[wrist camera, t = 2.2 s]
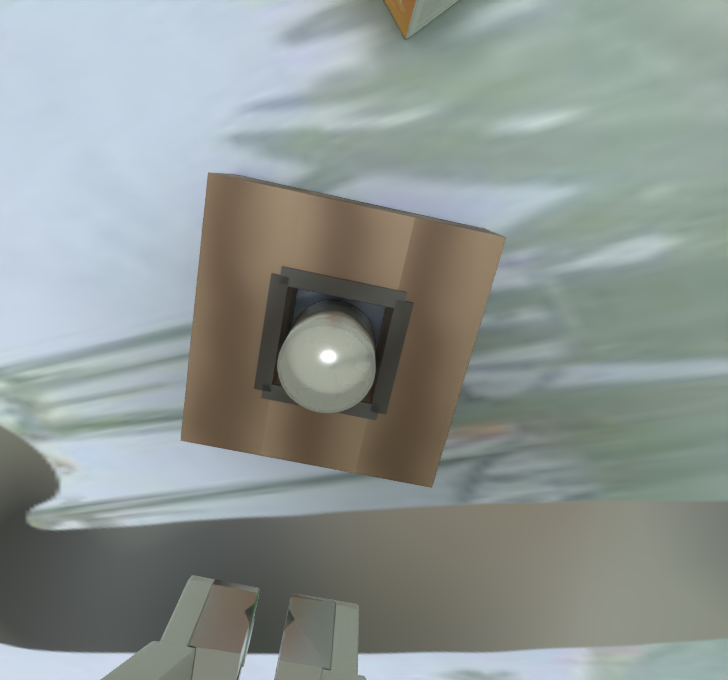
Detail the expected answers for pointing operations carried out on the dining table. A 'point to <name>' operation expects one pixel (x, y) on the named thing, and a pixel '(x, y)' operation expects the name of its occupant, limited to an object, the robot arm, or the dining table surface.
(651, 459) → the dining table surface
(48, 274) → the dining table surface
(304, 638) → the robot arm
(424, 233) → the socket block
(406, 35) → the small box
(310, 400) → the peg
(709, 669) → the dining table surface
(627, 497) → the dining table surface
